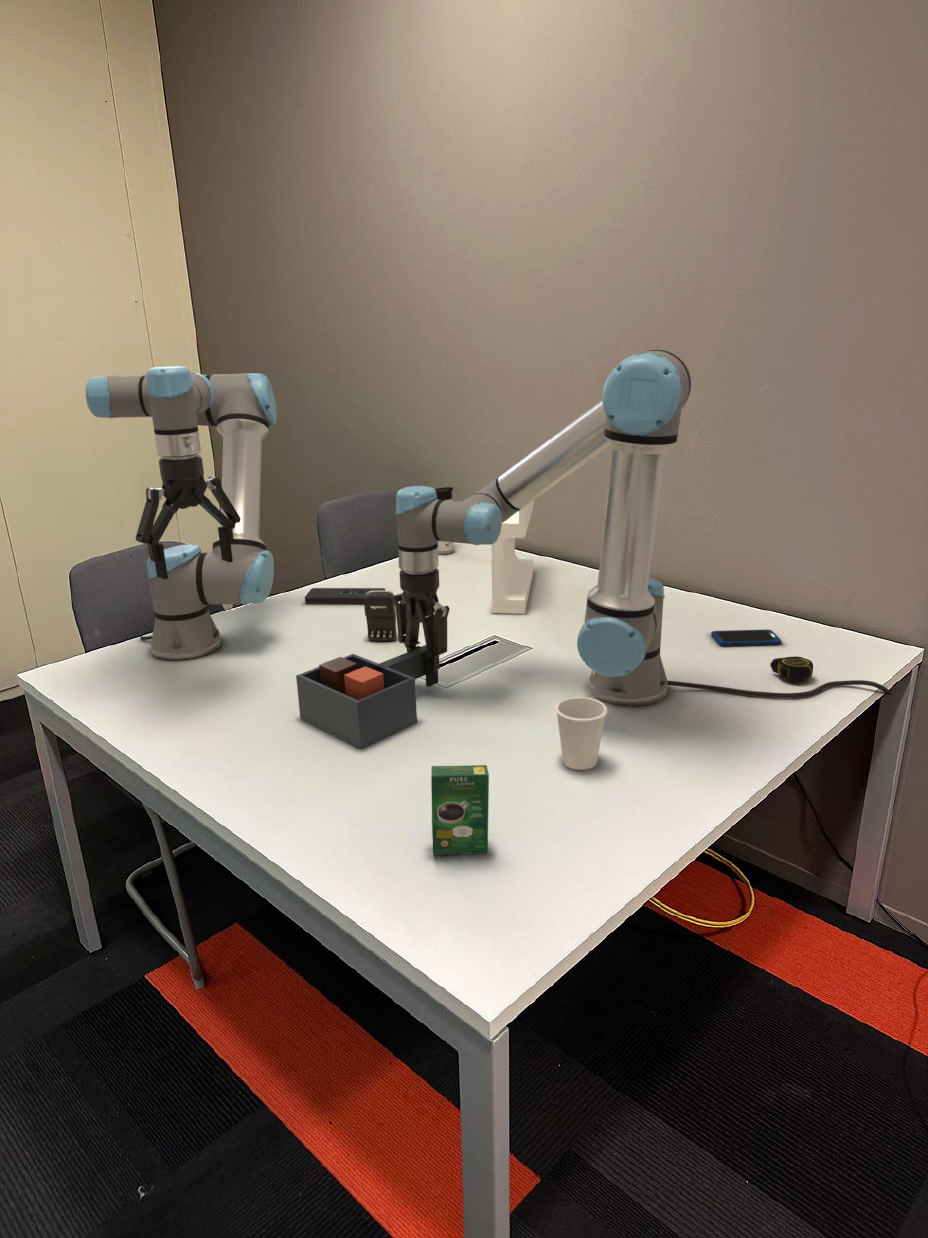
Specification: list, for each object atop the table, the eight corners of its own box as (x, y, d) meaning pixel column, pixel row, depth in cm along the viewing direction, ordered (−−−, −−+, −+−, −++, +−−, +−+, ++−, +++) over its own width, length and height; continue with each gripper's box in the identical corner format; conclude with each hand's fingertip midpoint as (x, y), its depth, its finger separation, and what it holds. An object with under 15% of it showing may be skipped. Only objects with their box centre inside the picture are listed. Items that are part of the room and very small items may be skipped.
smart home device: (380, 597, 219) (304, 597, 221) (380, 604, 220) (304, 603, 221) (385, 587, 227) (311, 587, 228) (386, 593, 227) (312, 593, 229)
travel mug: (452, 554, 260) (450, 489, 253) (431, 553, 262) (429, 489, 254) (456, 549, 266) (455, 485, 259) (436, 548, 267) (434, 485, 260)
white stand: (505, 570, 244) (504, 473, 234) (533, 571, 243) (533, 473, 233) (492, 612, 211) (490, 501, 202) (524, 613, 210) (524, 501, 200)
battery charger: (365, 642, 195) (362, 595, 191) (368, 636, 199) (365, 589, 195) (395, 642, 195) (392, 595, 191) (398, 636, 198) (395, 589, 194)
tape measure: (799, 669, 175) (801, 652, 174) (818, 683, 169) (820, 665, 168) (769, 672, 174) (770, 655, 173) (786, 686, 168) (788, 669, 167)
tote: (360, 749, 149) (357, 703, 146) (300, 719, 160) (295, 675, 157) (467, 697, 167) (466, 655, 164) (406, 673, 179) (404, 633, 176)
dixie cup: (592, 779, 138) (594, 723, 134) (546, 766, 142) (546, 712, 138) (612, 756, 144) (615, 703, 141) (567, 744, 148) (569, 692, 145)
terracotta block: (365, 733, 153) (362, 682, 149) (348, 724, 156) (343, 674, 153) (386, 723, 156) (383, 673, 153) (368, 715, 159) (365, 666, 156)
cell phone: (782, 644, 188) (782, 641, 188) (719, 646, 188) (719, 643, 188) (770, 632, 195) (771, 629, 195) (710, 633, 195) (710, 630, 195)
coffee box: (488, 842, 122) (487, 762, 118) (490, 854, 120) (488, 773, 115) (432, 844, 122) (429, 764, 117) (432, 857, 119) (429, 775, 115)
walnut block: (340, 721, 157) (335, 672, 154) (323, 713, 161) (318, 664, 157) (361, 712, 161) (357, 663, 157) (344, 704, 164) (340, 656, 160)
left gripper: (123, 469, 143) (143, 589, 150) (251, 448, 159) (263, 557, 167) (103, 464, 148) (123, 581, 155) (229, 444, 164) (241, 551, 172)
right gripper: (465, 572, 159) (468, 686, 167) (403, 556, 170) (408, 664, 178) (436, 582, 154) (441, 699, 162) (374, 565, 165) (381, 675, 173)
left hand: (195, 569), depth 161 cm, fingers open, 13 cm apart
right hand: (424, 680), depth 170 cm, fingers open, 4 cm apart
